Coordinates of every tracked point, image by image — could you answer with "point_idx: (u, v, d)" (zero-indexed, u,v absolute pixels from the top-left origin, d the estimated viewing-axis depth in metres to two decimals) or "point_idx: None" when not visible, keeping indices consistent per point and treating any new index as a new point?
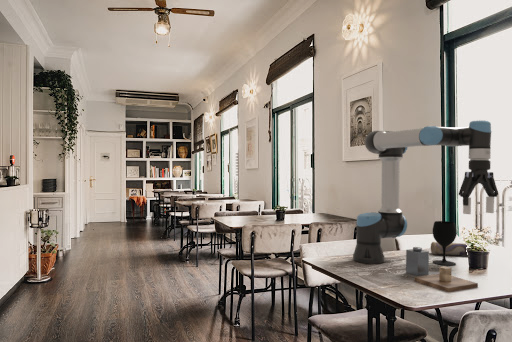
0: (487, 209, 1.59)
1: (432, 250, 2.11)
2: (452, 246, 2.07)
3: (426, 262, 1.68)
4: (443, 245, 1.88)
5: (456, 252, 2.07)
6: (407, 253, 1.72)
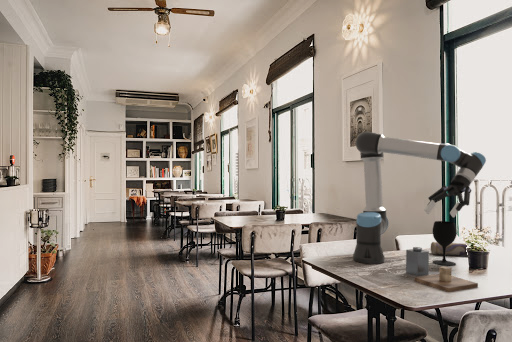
0: (427, 209, 1.81)
1: (432, 250, 2.11)
2: (452, 246, 2.07)
3: (426, 262, 1.68)
4: (443, 245, 1.88)
5: (456, 252, 2.06)
6: (407, 253, 1.72)
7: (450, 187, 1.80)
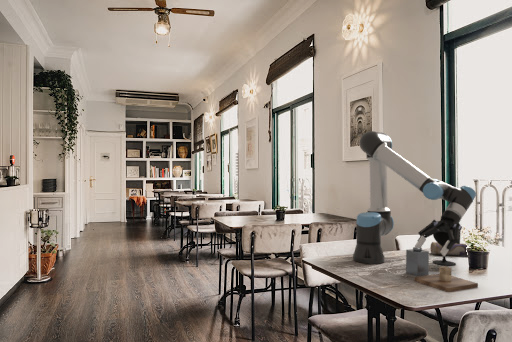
0: (417, 245, 1.77)
1: (432, 250, 2.11)
2: (452, 246, 2.07)
3: (426, 262, 1.68)
4: (443, 245, 1.88)
5: (456, 252, 2.06)
6: (407, 253, 1.72)
7: (440, 223, 1.76)
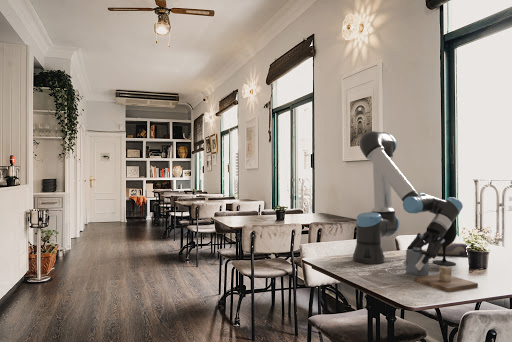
0: None
1: None
2: (452, 246, 2.07)
3: None
4: (443, 245, 1.88)
5: (456, 252, 2.06)
6: (407, 253, 1.72)
7: (426, 234, 1.74)
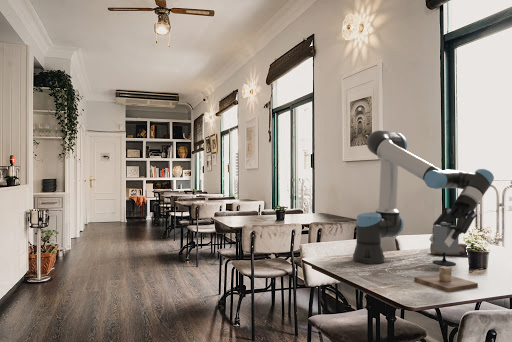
0: None
1: (432, 250, 2.10)
2: None
3: None
4: None
5: (456, 252, 2.06)
6: (434, 228, 1.56)
7: (454, 209, 1.59)
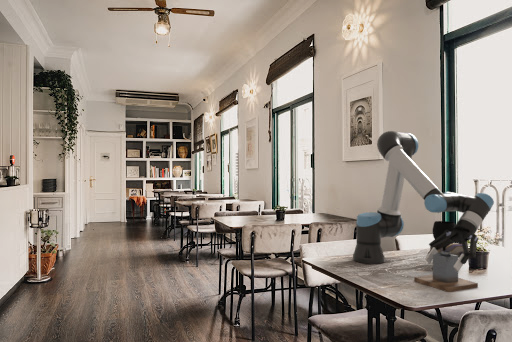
0: (428, 258, 1.60)
1: None
2: (452, 246, 2.06)
3: None
4: None
5: (456, 252, 2.06)
6: (434, 257, 1.56)
7: (454, 233, 1.59)
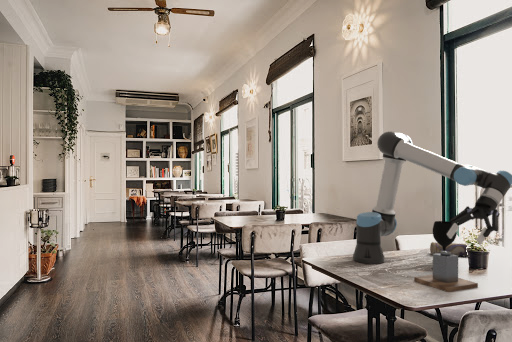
0: (450, 233, 1.65)
1: (431, 250, 2.10)
2: (452, 246, 2.06)
3: (455, 267, 1.53)
4: (443, 245, 1.88)
5: (456, 252, 2.06)
6: (434, 257, 1.56)
7: (475, 209, 1.64)
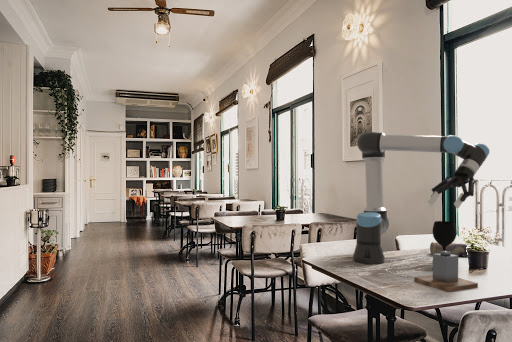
0: (431, 200, 1.80)
1: (431, 250, 2.10)
2: (451, 246, 2.06)
3: (455, 267, 1.53)
4: (443, 245, 1.88)
5: (456, 252, 2.06)
6: (434, 257, 1.56)
7: (454, 178, 1.79)
